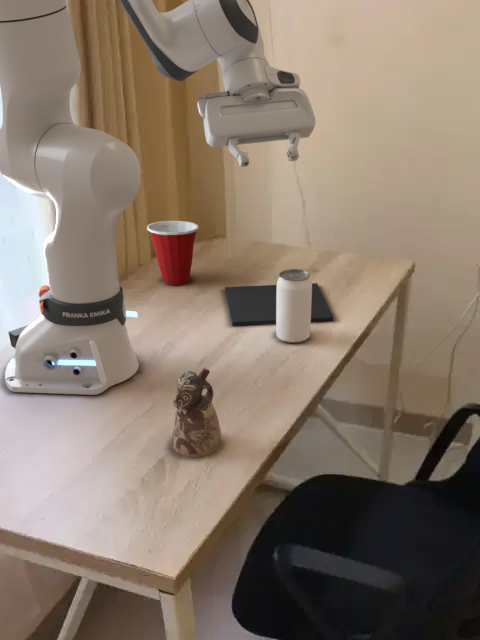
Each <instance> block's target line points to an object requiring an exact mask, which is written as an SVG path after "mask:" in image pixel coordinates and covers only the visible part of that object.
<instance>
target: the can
mask: <svg viewBox="0 0 480 640" xmlns="http://www.w3.org/2000/svg"><path fill="white" fill-rule="evenodd" d="M312 283H313V282H312V279H311V274H310V273H309V271H307V270H304V269H298V268H290V269H284V270H282V271H280V272H279V273H278V279H277V282H276V285H277V289H276V324H275V330H276V331H275V334H276V335H275V336H276V337H277V339H279V340H280V341H282V342H284V343H289V344H299V343H303V342H305V341H307V340H308V339H309V338H310V337H311V327H312V326H311V324H312V322H311V300H312Z"/></svg>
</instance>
